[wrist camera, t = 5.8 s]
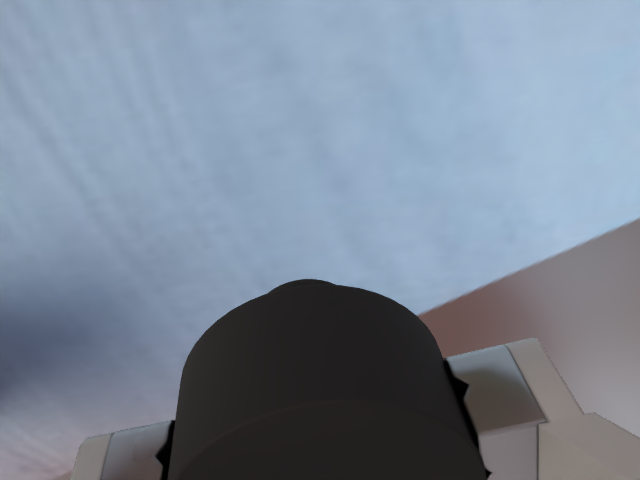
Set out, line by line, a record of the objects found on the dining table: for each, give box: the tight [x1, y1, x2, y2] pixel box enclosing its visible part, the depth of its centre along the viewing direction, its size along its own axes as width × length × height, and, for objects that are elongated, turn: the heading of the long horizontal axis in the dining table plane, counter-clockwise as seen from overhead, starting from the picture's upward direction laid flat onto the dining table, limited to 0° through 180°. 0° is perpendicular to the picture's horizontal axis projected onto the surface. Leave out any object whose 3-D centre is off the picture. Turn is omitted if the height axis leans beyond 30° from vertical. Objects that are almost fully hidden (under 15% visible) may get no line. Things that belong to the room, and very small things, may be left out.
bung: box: [168, 279, 487, 480], centre depth 10 cm, size 5×5×4 cm
